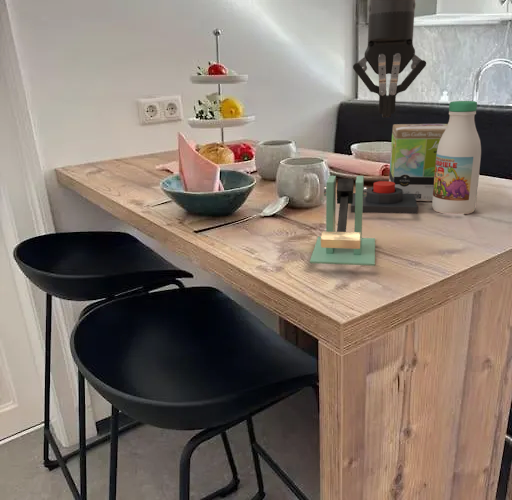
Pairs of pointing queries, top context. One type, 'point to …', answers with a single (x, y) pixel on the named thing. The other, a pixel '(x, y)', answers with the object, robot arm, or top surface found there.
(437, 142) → the tea box
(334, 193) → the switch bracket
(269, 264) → the top surface
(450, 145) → the milk bottle
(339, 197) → the switch lever
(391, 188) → the red button
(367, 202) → the button box
